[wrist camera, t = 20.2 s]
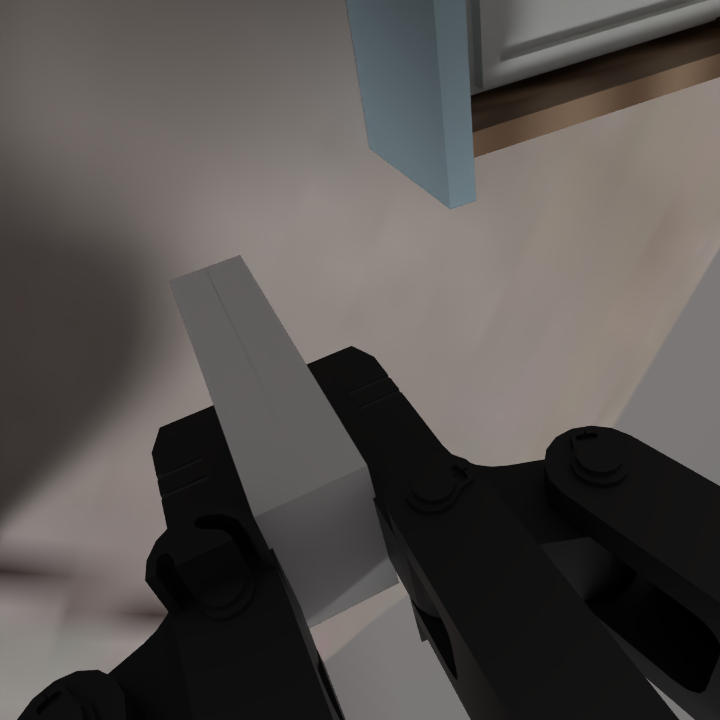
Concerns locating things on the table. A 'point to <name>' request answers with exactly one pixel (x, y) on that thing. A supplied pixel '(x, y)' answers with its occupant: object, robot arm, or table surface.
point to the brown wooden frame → (594, 87)
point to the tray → (479, 66)
